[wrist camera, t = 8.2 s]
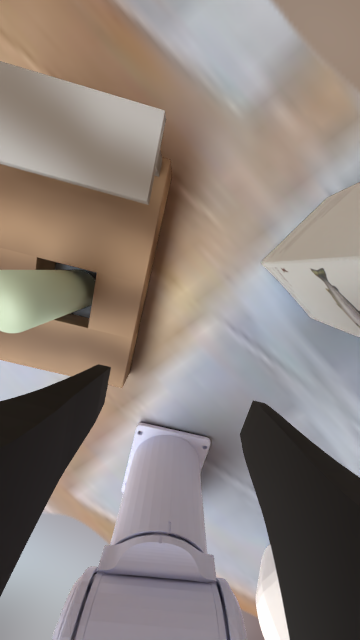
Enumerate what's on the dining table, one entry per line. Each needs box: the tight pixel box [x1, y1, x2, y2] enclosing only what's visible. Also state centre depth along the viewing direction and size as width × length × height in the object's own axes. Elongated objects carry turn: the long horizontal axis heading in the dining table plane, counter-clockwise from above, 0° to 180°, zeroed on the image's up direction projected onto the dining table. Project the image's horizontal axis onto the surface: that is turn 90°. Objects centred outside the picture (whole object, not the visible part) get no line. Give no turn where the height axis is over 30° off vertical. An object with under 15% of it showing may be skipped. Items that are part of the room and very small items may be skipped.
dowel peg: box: [0, 270, 95, 333], centre depth 15 cm, size 3×3×8 cm
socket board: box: [0, 61, 172, 388], centre depth 15 cm, size 18×12×7 cm, turn 166°
